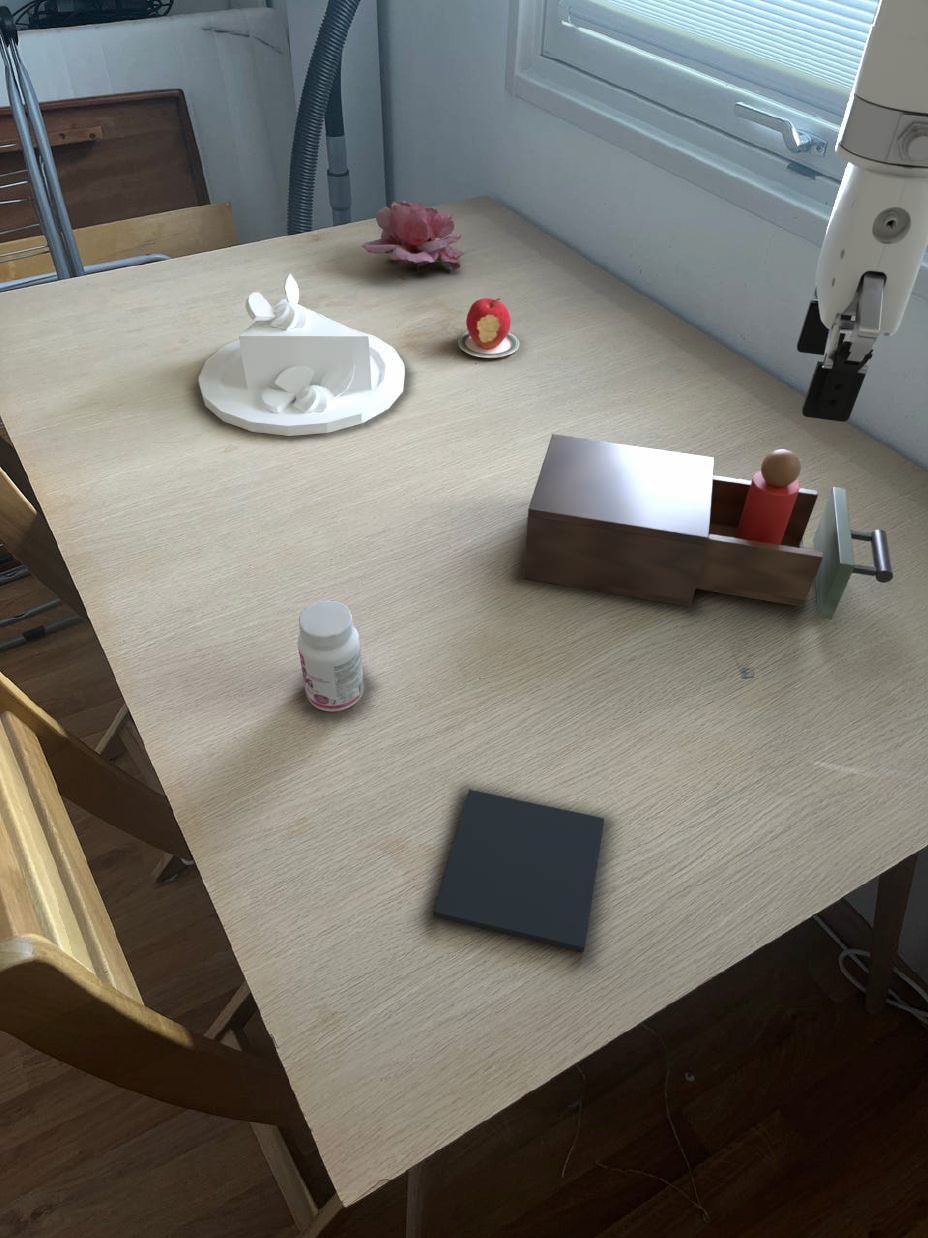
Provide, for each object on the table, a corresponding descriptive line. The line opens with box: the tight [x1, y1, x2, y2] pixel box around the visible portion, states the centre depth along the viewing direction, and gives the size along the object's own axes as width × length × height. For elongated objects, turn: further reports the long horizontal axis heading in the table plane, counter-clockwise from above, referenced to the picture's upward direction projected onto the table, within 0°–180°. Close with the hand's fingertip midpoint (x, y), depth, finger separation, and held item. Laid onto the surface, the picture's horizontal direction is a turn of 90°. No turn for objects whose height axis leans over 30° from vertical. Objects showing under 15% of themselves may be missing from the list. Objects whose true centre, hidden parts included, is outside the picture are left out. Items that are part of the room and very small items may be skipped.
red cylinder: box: [735, 448, 802, 545], centre depth 78 cm, size 4×4×12 cm
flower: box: [361, 199, 465, 274], centre depth 130 cm, size 15×15×10 cm
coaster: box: [433, 789, 605, 953], centre depth 60 cm, size 10×10×1 cm
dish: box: [197, 273, 406, 437], centre depth 104 cm, size 25×25×11 cm
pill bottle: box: [297, 600, 365, 712], centre depth 69 cm, size 5×5×8 cm
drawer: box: [695, 474, 894, 620], centre depth 80 cm, size 19×11×6 cm, turn 76°
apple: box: [457, 297, 520, 359], centre depth 113 cm, size 8×8×6 cm
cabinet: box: [522, 433, 715, 608], centre depth 83 cm, size 16×13×8 cm
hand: (820, 383), depth 66 cm, fingers open, 9 cm apart
